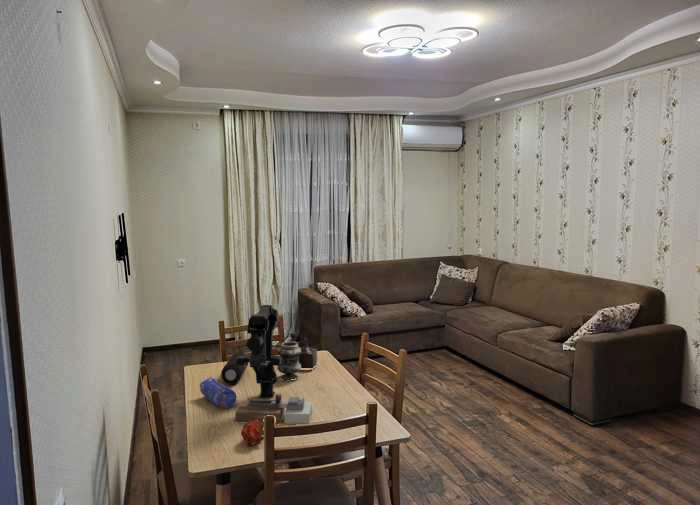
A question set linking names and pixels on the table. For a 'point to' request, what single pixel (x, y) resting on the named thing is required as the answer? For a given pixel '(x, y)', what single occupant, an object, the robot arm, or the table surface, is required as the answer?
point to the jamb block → (298, 411)
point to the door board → (258, 411)
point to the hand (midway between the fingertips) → (259, 379)
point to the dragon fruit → (252, 432)
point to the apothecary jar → (289, 360)
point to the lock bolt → (278, 401)
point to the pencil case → (218, 393)
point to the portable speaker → (233, 369)
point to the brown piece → (306, 354)
